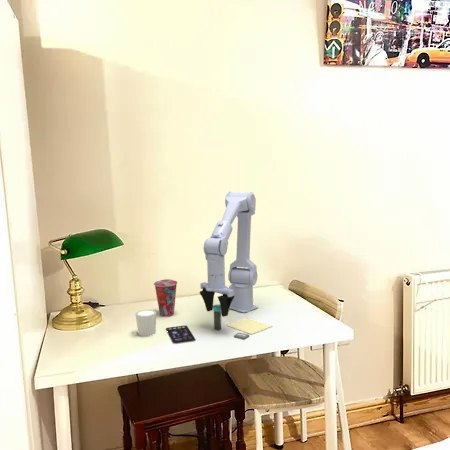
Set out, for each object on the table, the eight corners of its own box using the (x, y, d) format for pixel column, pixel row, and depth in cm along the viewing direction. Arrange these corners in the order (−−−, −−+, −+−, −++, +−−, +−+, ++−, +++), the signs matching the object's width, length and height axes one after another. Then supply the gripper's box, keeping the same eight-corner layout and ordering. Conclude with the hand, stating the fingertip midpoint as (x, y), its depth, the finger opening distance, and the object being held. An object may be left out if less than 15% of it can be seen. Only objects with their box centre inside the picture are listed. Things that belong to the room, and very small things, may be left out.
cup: (181, 315, 184) (180, 283, 182) (159, 319, 180) (158, 287, 179) (173, 308, 192) (171, 278, 190) (151, 312, 189) (150, 281, 187)
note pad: (226, 325, 173) (226, 324, 173) (247, 318, 179) (247, 317, 179) (251, 334, 164) (251, 333, 164) (272, 326, 171) (272, 326, 171)
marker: (212, 328, 170) (211, 305, 169) (218, 326, 172) (217, 304, 171) (217, 330, 168) (216, 307, 167) (223, 328, 170) (222, 305, 169)
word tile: (233, 337, 162) (233, 335, 162) (238, 334, 165) (238, 332, 165) (244, 339, 160) (244, 337, 160) (249, 336, 163) (249, 334, 162)
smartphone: (186, 324, 174) (196, 340, 160) (186, 326, 174) (196, 342, 160) (164, 327, 172) (173, 343, 158) (165, 329, 172) (173, 345, 158)
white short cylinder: (134, 331, 169) (133, 311, 168) (154, 328, 172) (153, 308, 171) (139, 338, 163) (138, 317, 162) (159, 334, 166) (158, 314, 165)
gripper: (192, 272, 170) (194, 311, 172) (221, 279, 159) (222, 321, 161) (208, 268, 174) (209, 306, 176) (238, 275, 164) (238, 316, 166)
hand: (217, 313), depth 169 cm, fingers open, 7 cm apart
